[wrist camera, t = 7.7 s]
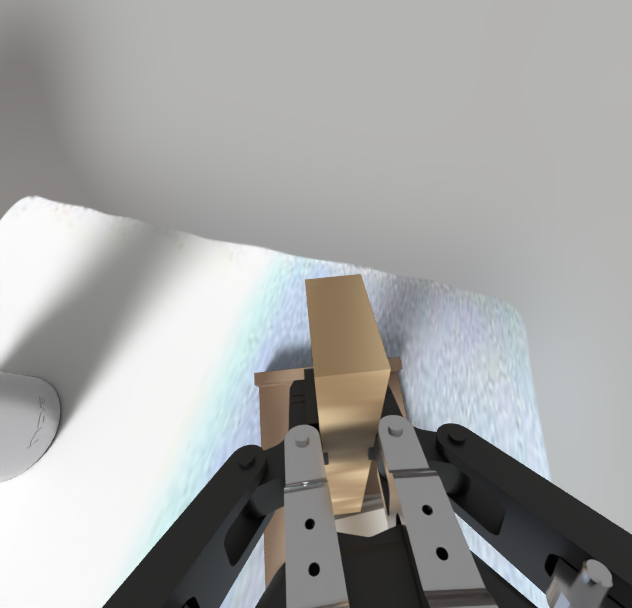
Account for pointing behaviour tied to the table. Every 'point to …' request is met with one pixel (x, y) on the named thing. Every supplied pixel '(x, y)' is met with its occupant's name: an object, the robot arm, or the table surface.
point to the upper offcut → (363, 520)
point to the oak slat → (346, 382)
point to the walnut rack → (274, 431)
